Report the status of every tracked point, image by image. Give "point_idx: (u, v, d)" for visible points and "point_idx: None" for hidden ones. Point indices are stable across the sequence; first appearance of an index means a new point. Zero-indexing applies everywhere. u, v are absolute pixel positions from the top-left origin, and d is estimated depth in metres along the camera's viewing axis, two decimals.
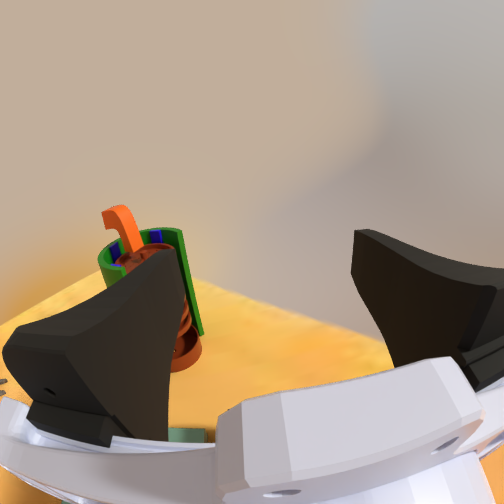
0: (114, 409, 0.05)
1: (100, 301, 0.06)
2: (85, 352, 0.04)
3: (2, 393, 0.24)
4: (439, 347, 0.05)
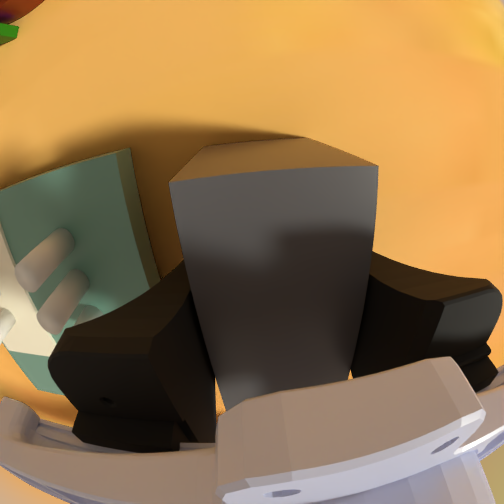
0: (184, 414, 0.05)
1: (154, 298, 0.06)
2: (162, 354, 0.04)
3: None
4: (387, 363, 0.05)
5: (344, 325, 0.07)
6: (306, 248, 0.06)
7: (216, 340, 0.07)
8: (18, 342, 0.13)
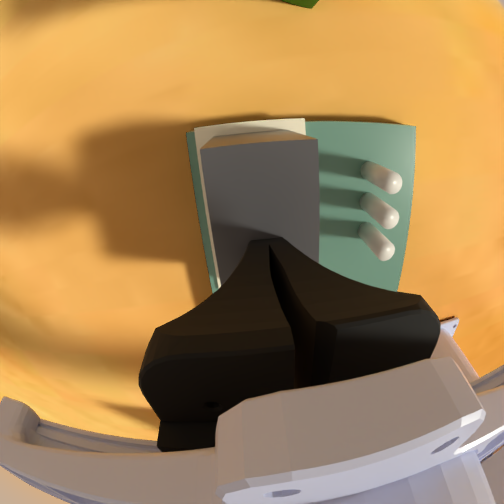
0: None
1: (238, 291, 0.06)
2: None
3: None
4: (303, 380, 0.05)
5: (307, 244, 0.11)
6: (277, 187, 0.10)
7: (223, 252, 0.11)
8: None
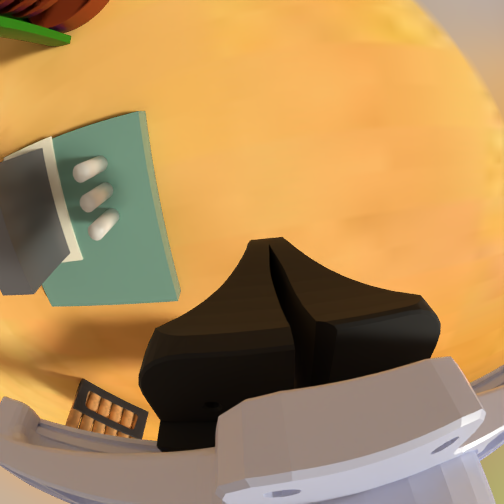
0: None
1: (238, 291, 0.06)
2: None
3: None
4: (303, 380, 0.05)
5: (2, 227, 0.12)
6: None
7: None
8: None
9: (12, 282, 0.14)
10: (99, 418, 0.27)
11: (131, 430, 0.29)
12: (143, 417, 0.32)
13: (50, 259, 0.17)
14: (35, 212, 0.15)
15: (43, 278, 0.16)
